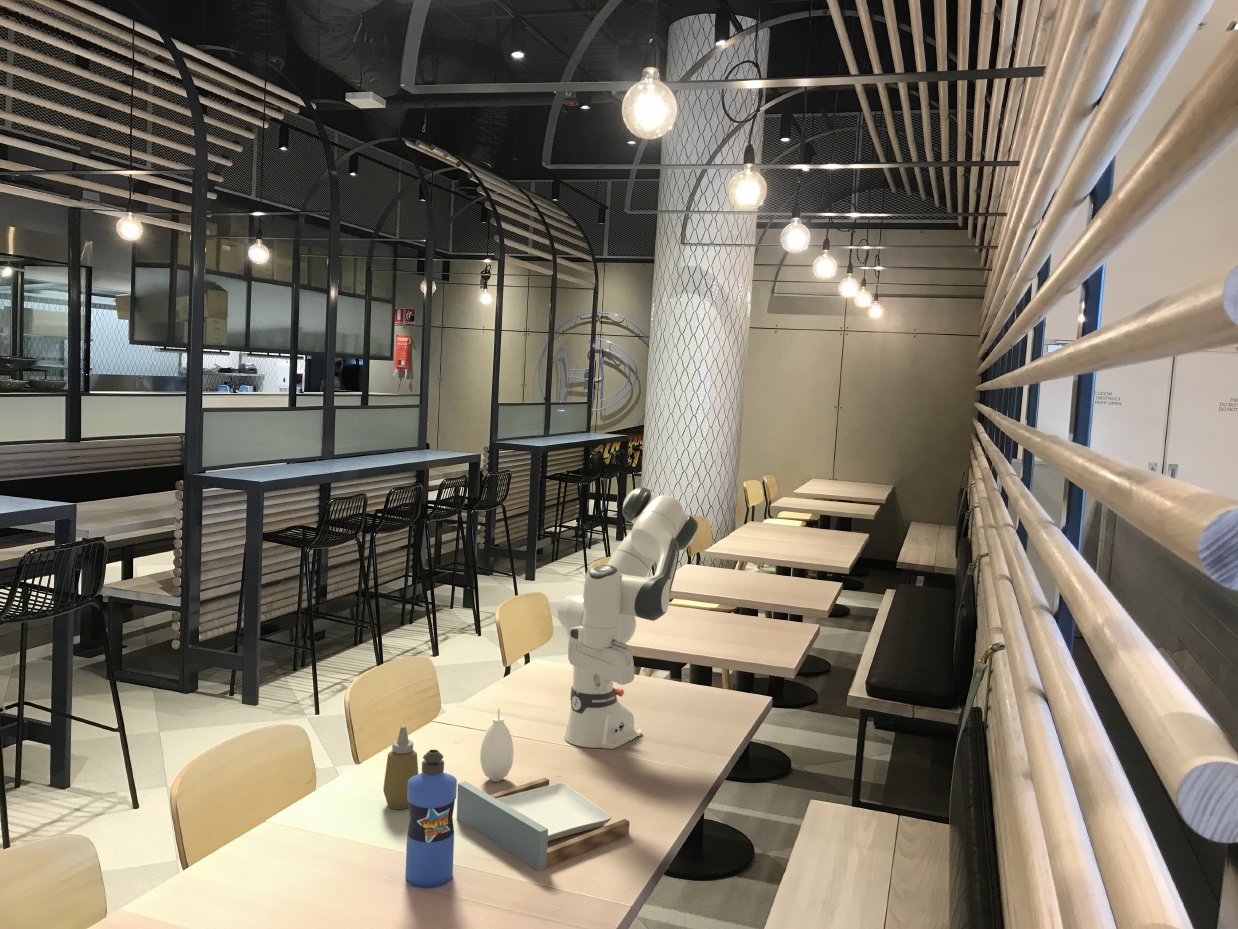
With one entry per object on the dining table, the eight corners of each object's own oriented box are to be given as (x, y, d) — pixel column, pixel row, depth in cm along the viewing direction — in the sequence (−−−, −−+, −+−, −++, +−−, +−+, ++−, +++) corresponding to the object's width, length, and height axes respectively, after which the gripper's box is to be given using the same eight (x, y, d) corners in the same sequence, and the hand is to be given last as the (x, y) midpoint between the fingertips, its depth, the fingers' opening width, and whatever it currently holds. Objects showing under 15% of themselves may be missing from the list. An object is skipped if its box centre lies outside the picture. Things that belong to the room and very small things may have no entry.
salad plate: (529, 855, 196) (530, 839, 196) (482, 815, 214) (482, 800, 213) (613, 831, 209) (614, 816, 208) (562, 795, 226) (562, 781, 226)
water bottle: (400, 868, 188) (404, 745, 186) (447, 861, 192) (451, 740, 190) (409, 892, 179) (413, 763, 177) (458, 884, 183) (463, 757, 181)
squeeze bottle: (425, 800, 219) (428, 724, 217) (406, 815, 211) (409, 736, 210) (395, 794, 221) (397, 718, 220) (375, 808, 214) (377, 730, 212)
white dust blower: (518, 781, 232) (521, 708, 231) (493, 789, 226) (496, 715, 225) (498, 771, 237) (500, 700, 236) (473, 779, 232) (475, 707, 230)
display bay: (544, 789, 228) (546, 757, 227) (628, 834, 207) (630, 799, 206) (456, 818, 210) (457, 783, 210) (538, 870, 189) (540, 831, 189)
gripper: (641, 643, 218) (639, 701, 219) (584, 623, 233) (583, 678, 235) (620, 648, 214) (619, 708, 215) (563, 628, 229) (563, 683, 230)
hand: (600, 692), depth 225 cm, fingers closed
